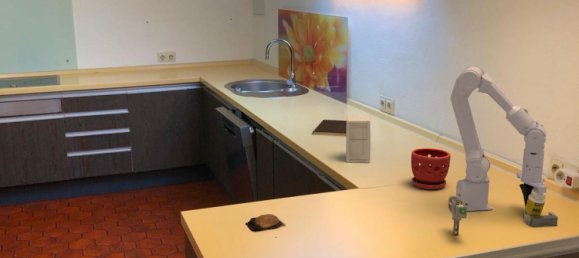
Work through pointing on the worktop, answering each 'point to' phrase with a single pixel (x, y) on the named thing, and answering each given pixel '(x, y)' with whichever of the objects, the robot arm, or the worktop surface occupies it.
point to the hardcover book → (331, 128)
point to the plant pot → (430, 167)
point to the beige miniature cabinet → (358, 139)
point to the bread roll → (264, 223)
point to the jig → (541, 220)
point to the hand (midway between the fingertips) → (528, 207)
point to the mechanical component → (457, 212)
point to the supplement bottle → (535, 203)
